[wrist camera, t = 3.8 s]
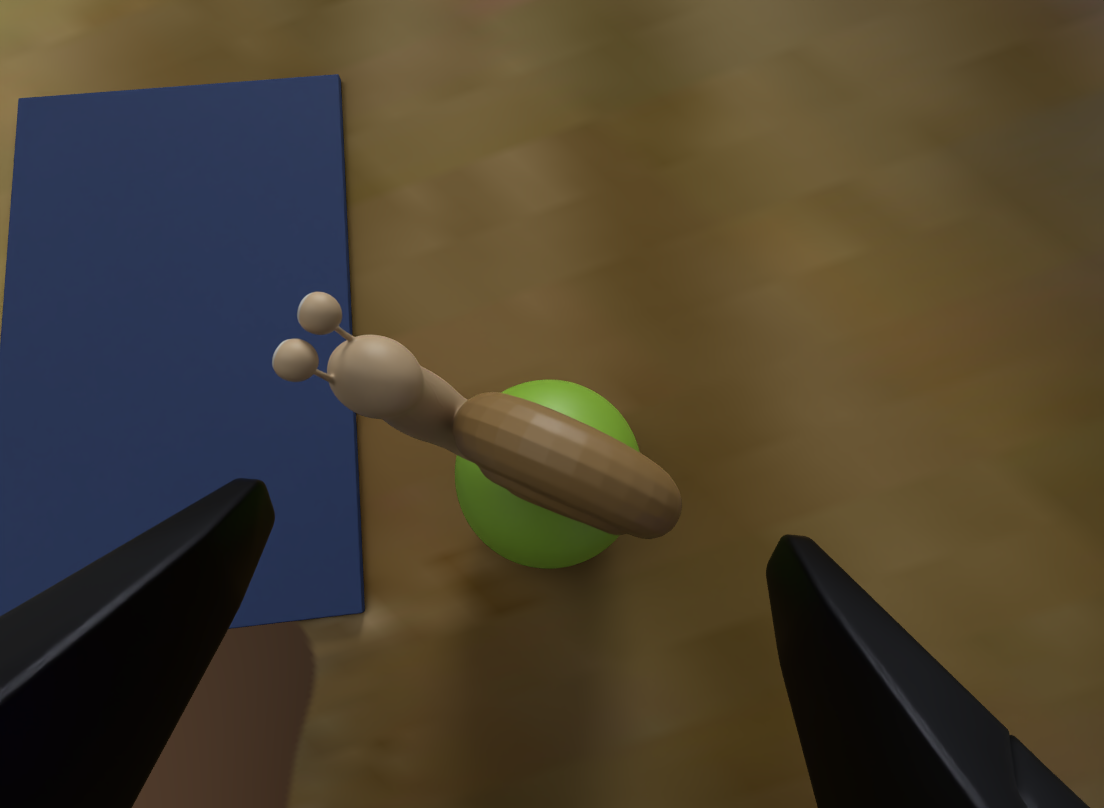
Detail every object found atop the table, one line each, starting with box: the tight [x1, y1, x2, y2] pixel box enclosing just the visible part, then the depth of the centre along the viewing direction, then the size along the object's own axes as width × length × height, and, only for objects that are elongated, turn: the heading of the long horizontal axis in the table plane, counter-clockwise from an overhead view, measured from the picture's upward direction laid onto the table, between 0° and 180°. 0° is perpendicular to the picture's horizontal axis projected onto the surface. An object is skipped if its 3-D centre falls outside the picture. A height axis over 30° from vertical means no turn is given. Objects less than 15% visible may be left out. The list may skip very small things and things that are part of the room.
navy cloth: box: [0, 74, 365, 629], centre depth 18 cm, size 20×12×1 cm, turn 6°
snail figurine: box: [272, 292, 682, 569], centre depth 12 cm, size 5×6×12 cm
